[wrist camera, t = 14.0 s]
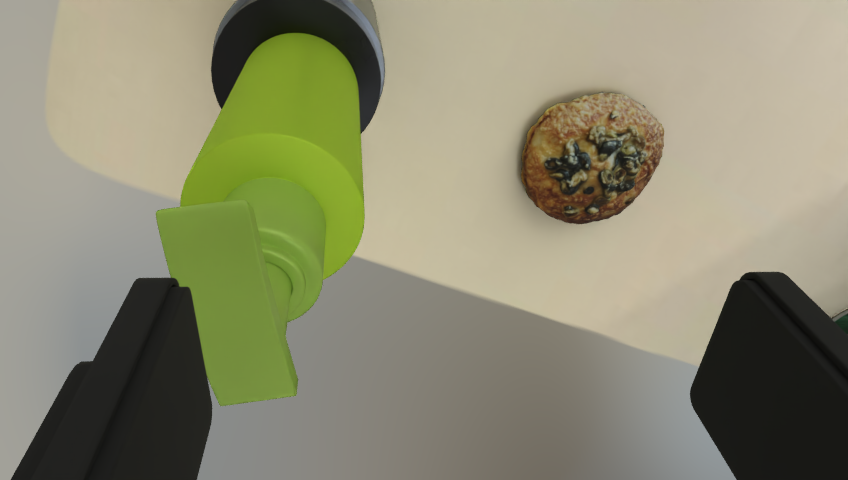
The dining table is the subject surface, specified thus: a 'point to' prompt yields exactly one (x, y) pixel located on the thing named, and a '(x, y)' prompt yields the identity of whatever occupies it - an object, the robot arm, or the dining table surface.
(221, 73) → the grey and black cylinder
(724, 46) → the dining table surface
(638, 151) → the bread roll
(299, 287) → the soap dispenser
